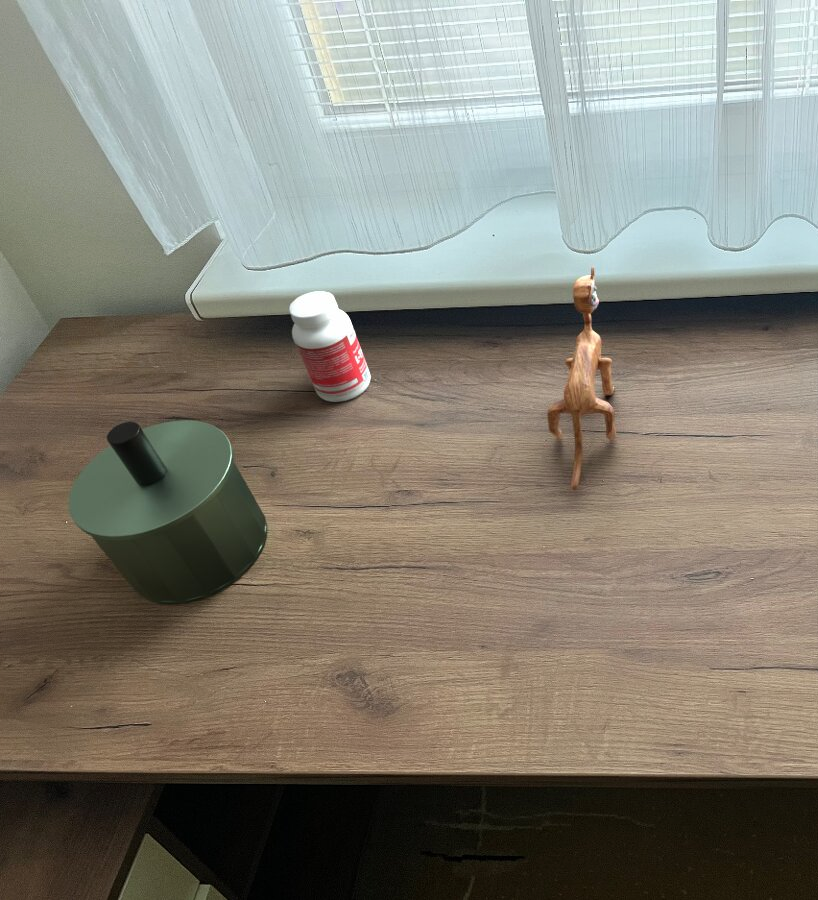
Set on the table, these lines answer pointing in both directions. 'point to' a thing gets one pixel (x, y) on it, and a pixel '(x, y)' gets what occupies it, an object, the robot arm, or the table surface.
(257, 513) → the tin
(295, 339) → the pill bottle
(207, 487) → the tin lid
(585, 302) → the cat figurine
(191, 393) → the table surface
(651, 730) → the table surface
